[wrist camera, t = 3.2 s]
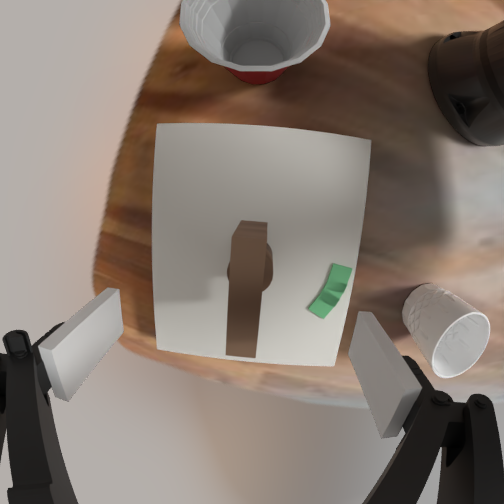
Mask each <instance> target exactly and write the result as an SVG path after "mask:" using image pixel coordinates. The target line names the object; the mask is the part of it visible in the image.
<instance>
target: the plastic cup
mask: <svg viewBox="0 0 504 504" xmlns="http://www.w3.org/2000/svg"><path fill="white" fill-rule="evenodd" d="M179 25H180V27H181V29H182V31H183V33H184V35H185V37H186V39H187V41H188V43H189V45H190V46H191V47H192V48H194V49H195V50H196V51H198V52H199V53H200V54H202V55H203V56H204V57H205V58H207V59H208V60H209V61H210V62H212V63H216V64H219V65H222V66H224V67H225V68H226V69H227V70H229V71H230V72H231V73H232V74H234V75H235V76H236V77H238V78H239V79H240V80H241V81H244V82H247V83H250V84H265V83H268V82H271V81H274V80H275V79H277V78H278V77H279V76H280V75H281V74H282V73H283V72H284V71H285V70H286V69H287V68H288V67H289V66H290V65H294V64H297V63H300V62H302V61H303V60H304V59H306V58H307V57H308V56H309V55H311V54H312V53H313V52H314V51H316V50H317V49H318V48H319V47H321V46H322V43H323V41H324V39H325V37H326V34H327V32H328V30H329V28H330V18H329V10H328V4H327V2H326V1H325V0H183V1H182V3H181V11H180V23H179Z"/></svg>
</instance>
